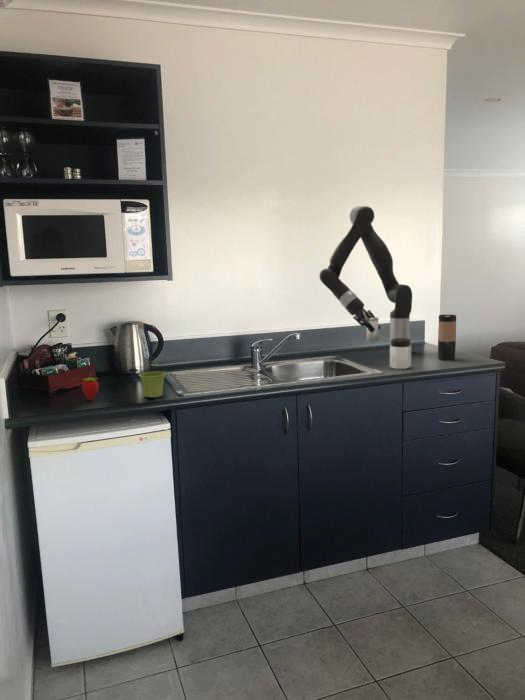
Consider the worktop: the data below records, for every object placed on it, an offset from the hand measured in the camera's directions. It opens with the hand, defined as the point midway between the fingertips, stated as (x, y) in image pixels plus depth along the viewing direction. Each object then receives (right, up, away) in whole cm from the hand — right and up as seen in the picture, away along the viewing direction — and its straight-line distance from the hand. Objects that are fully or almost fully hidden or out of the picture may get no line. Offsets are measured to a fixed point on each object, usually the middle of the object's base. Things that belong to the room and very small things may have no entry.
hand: (376, 329), depth 250 cm
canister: (-1, -5, +2) cm, 5 cm away
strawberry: (-112, -27, -48) cm, 125 cm away
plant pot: (-90, -26, -46) cm, 105 cm away
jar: (+9, -16, -8) cm, 20 cm away
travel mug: (+33, -13, +5) cm, 36 cm away
